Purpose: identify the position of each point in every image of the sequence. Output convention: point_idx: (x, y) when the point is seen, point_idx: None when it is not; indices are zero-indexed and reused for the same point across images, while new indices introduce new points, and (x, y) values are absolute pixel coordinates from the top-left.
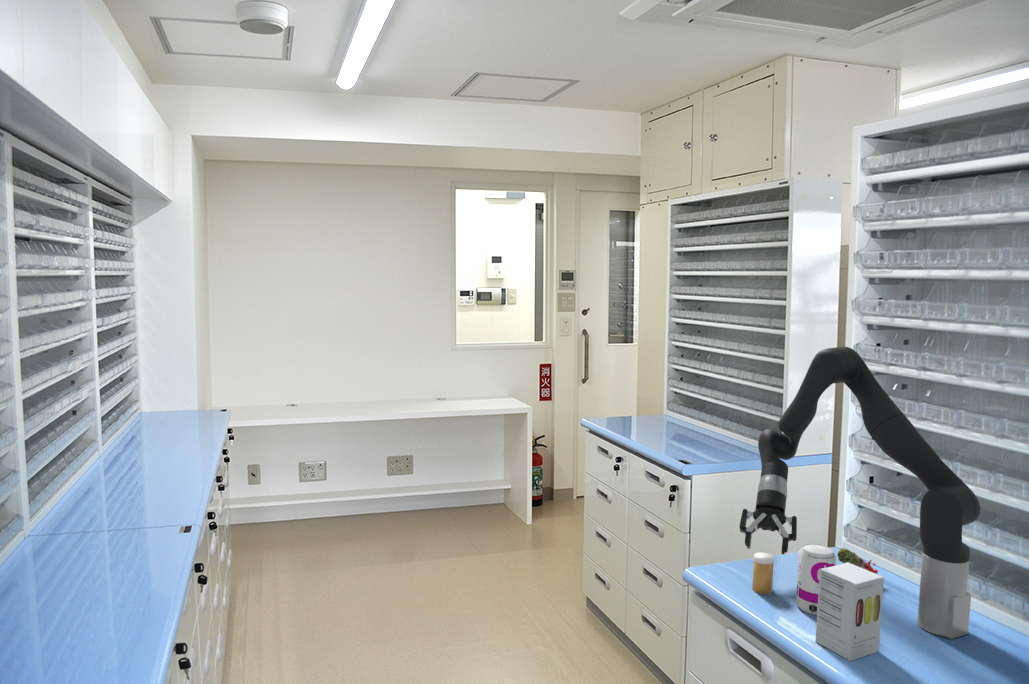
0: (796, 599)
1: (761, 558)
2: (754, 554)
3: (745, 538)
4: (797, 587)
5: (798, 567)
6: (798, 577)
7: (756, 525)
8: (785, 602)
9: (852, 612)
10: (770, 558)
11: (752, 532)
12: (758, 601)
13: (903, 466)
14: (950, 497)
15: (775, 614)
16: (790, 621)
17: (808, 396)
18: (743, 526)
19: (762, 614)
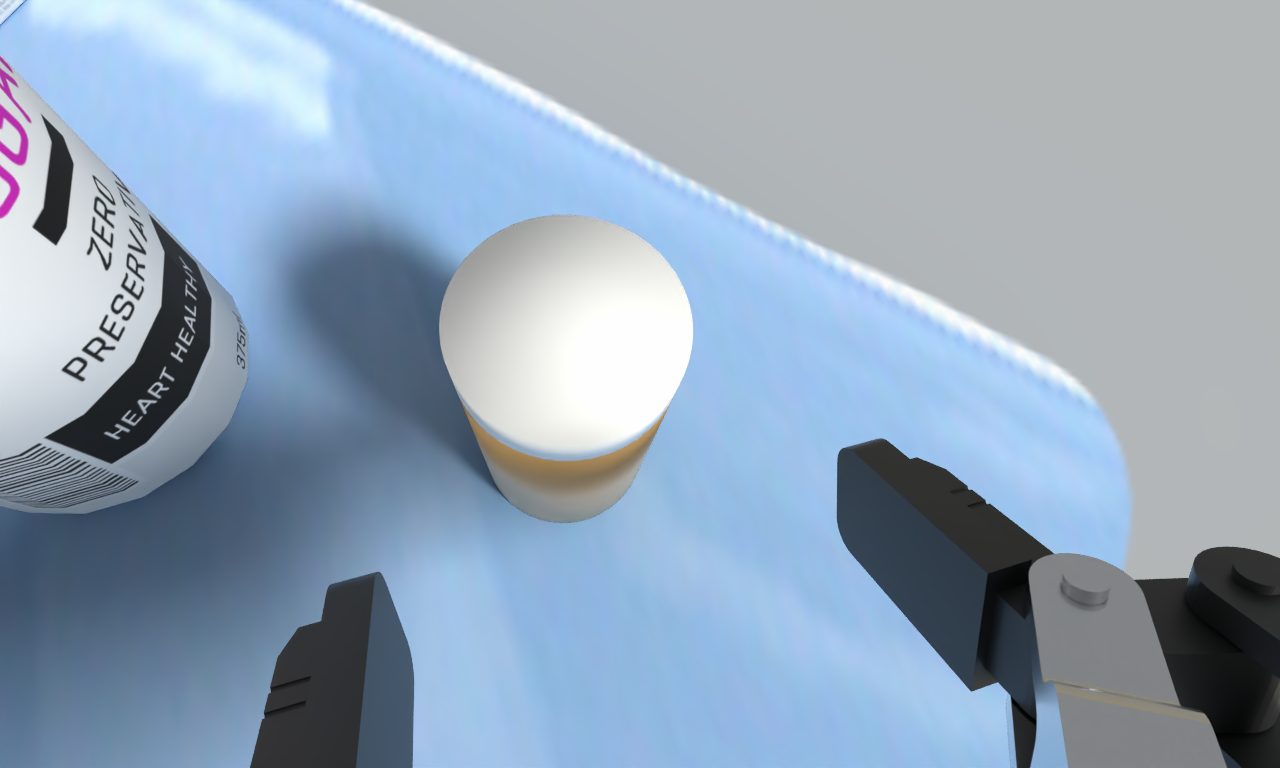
0: (233, 317)
1: (562, 232)
2: (682, 301)
3: (980, 504)
4: (171, 248)
5: (28, 107)
6: (95, 160)
7: (1054, 730)
8: (344, 348)
9: None
10: (469, 298)
11: (1024, 743)
12: None
13: None
14: None
15: (361, 141)
16: (250, 107)
17: None
18: (1234, 593)
19: (434, 99)
